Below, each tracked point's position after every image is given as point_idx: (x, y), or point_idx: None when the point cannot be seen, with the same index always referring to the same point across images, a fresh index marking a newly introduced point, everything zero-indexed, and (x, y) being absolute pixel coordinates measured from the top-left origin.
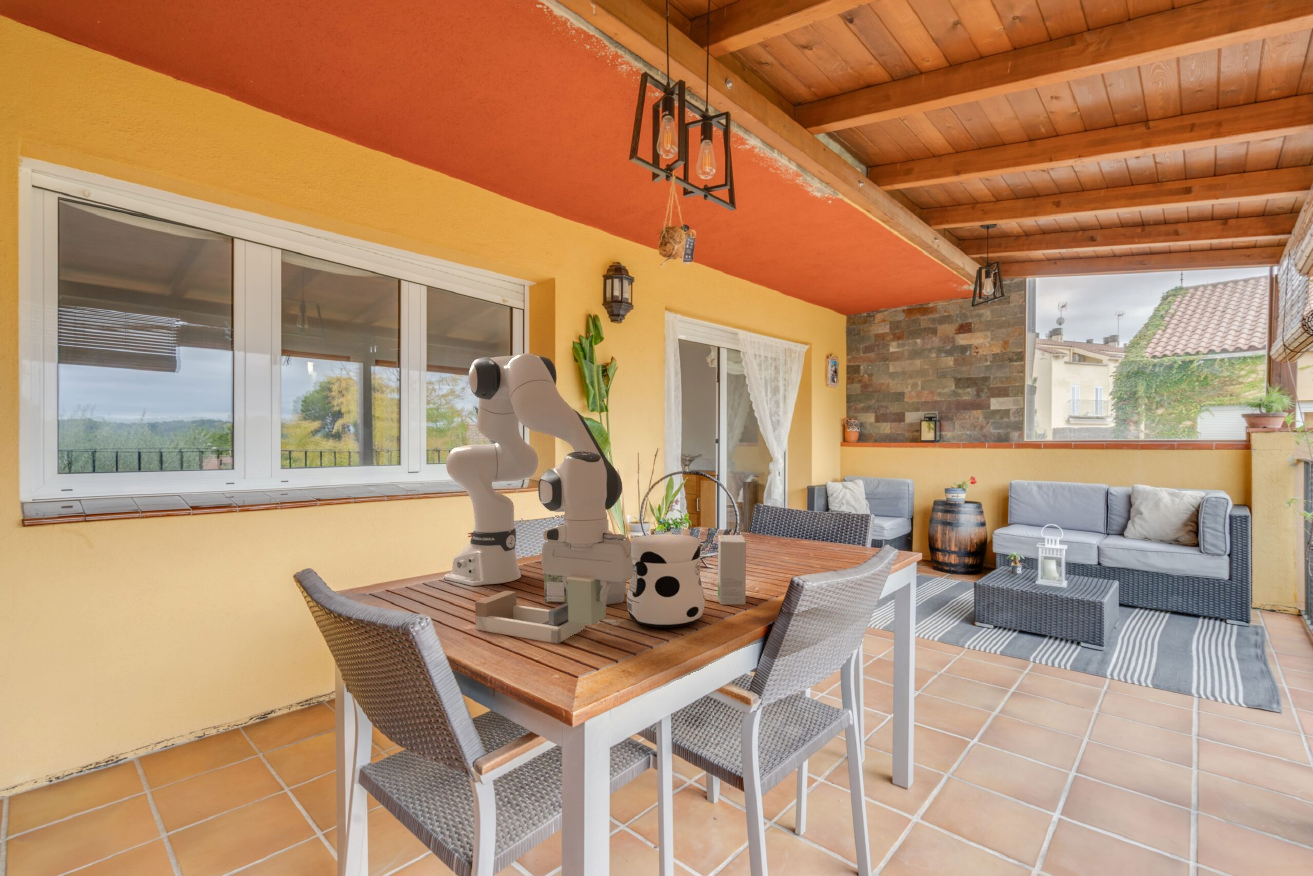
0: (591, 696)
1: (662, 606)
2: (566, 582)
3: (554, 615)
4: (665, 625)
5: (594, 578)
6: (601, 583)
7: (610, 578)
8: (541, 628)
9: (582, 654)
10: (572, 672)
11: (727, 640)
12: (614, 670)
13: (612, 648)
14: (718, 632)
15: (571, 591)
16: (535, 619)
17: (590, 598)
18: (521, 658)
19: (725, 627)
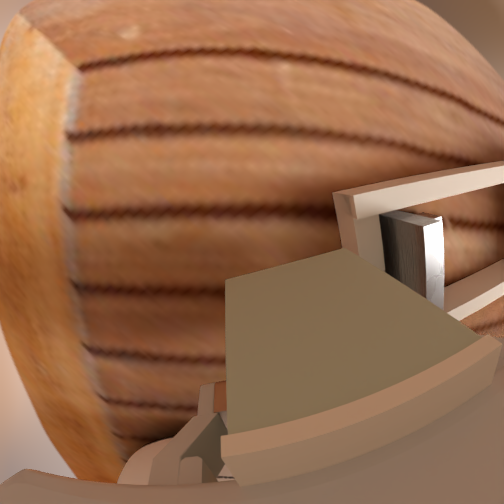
0: (10, 53)
1: (137, 479)
2: None
3: (413, 230)
4: (147, 444)
5: (232, 484)
6: (190, 468)
7: (74, 493)
8: (410, 182)
9: (186, 178)
10: (108, 72)
11: (49, 436)
12: (36, 165)
13: (153, 280)
14: (90, 460)
15: (401, 309)
16: (482, 275)
17: (229, 342)
18: (317, 46)
19: (106, 478)
